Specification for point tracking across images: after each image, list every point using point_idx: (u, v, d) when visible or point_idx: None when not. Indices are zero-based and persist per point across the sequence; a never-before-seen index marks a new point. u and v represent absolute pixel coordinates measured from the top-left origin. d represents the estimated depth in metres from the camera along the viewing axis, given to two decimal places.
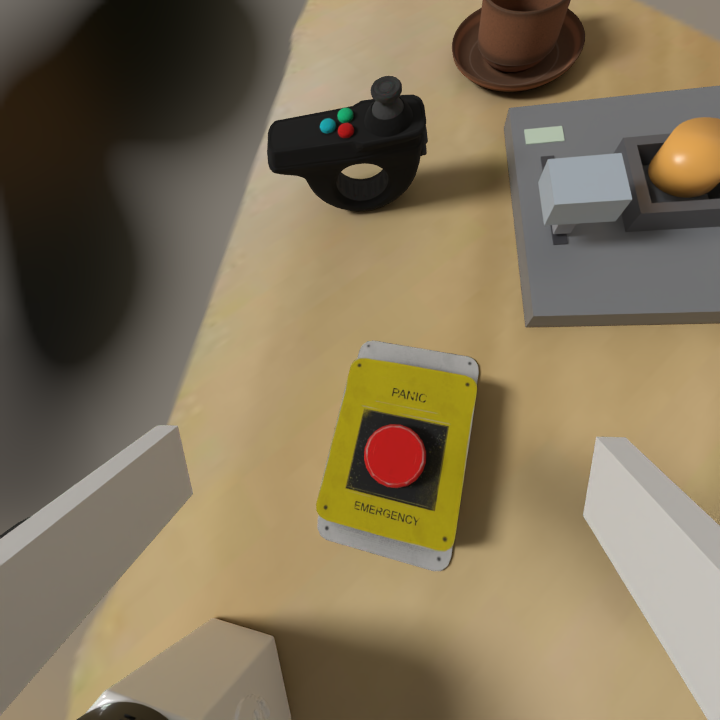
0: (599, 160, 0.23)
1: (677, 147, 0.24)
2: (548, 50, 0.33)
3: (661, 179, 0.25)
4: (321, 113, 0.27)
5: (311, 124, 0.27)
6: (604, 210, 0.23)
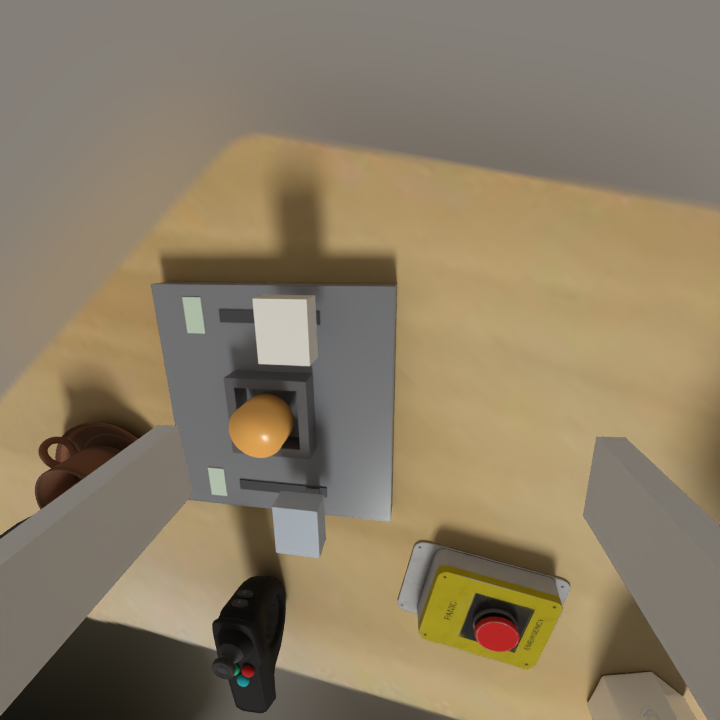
0: (278, 522, 0.29)
1: (260, 453, 0.28)
2: None
3: None
4: (229, 680, 0.35)
5: (240, 687, 0.35)
6: (320, 516, 0.29)
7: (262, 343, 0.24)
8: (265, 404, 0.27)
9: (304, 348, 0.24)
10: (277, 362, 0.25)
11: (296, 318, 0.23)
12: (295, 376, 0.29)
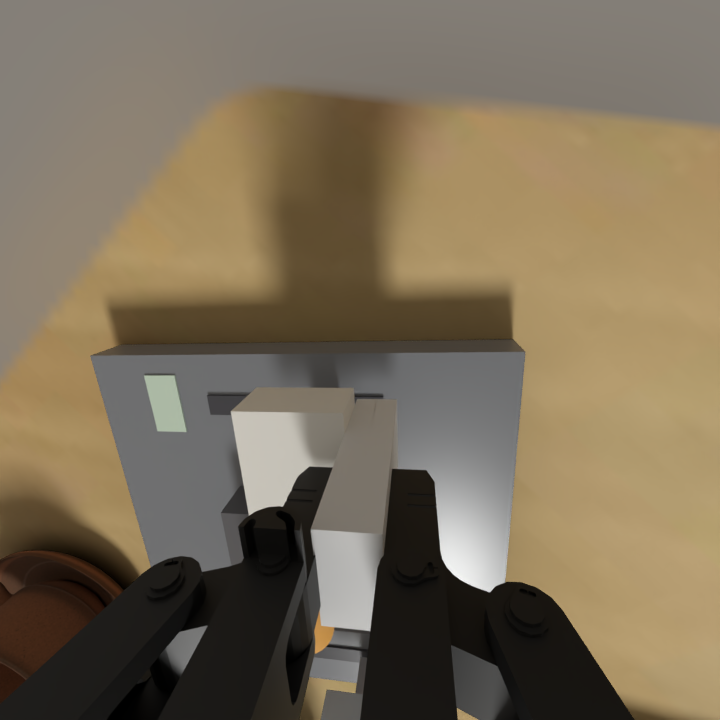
0: None
1: None
2: (77, 607, 0.24)
3: None
4: None
5: None
6: None
7: (256, 491, 0.12)
8: None
9: None
10: None
11: (323, 448, 0.11)
12: None
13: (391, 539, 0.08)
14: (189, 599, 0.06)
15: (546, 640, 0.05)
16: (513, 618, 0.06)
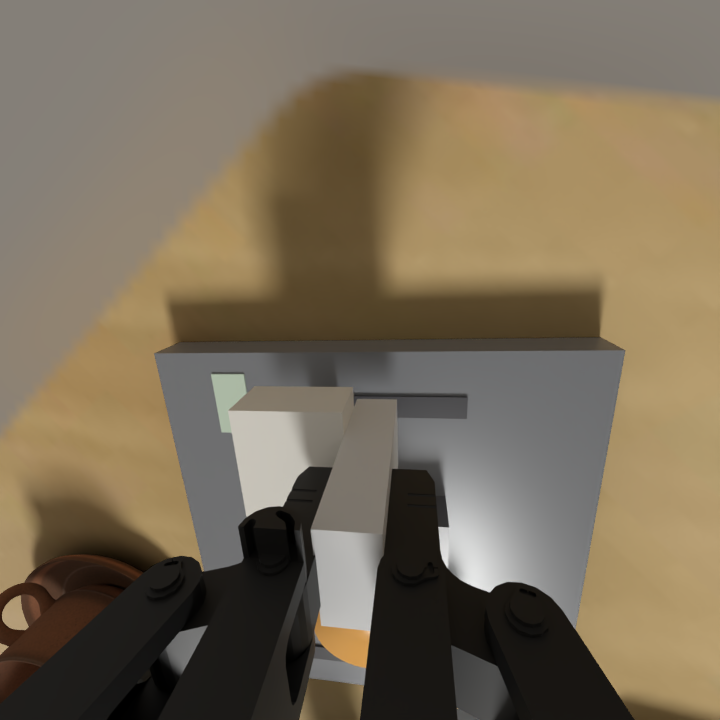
0: None
1: None
2: None
3: None
4: None
5: None
6: None
7: (253, 491, 0.12)
8: None
9: None
10: None
11: (321, 448, 0.11)
12: None
13: (391, 539, 0.08)
14: (189, 599, 0.06)
15: (546, 640, 0.05)
16: (513, 618, 0.06)
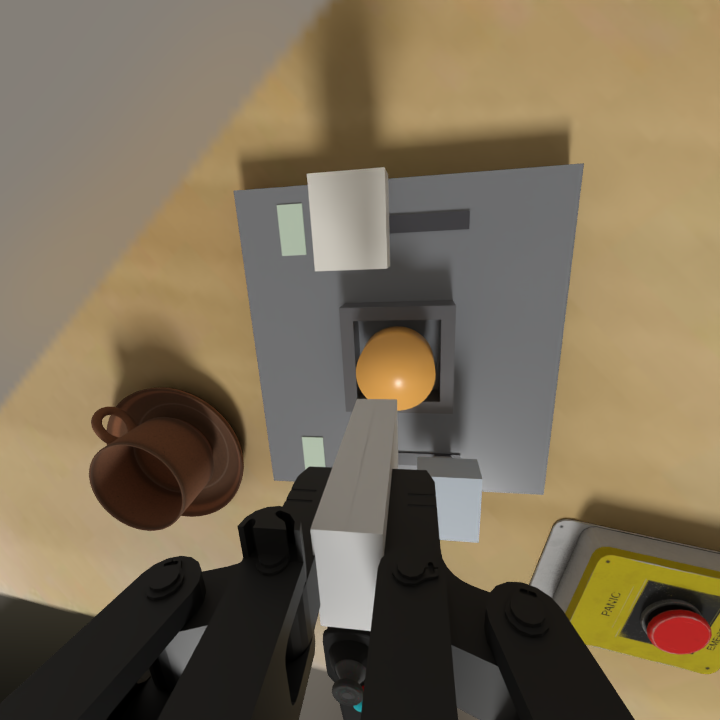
0: None
1: (398, 404, 0.21)
2: (194, 433, 0.29)
3: None
4: (341, 703, 0.27)
5: (354, 711, 0.27)
6: None
7: (320, 240, 0.18)
8: (407, 335, 0.20)
9: (380, 243, 0.17)
10: (341, 267, 0.18)
11: (369, 198, 0.17)
12: (433, 302, 0.22)
13: (391, 539, 0.08)
14: (189, 599, 0.06)
15: (546, 640, 0.05)
16: (513, 618, 0.06)
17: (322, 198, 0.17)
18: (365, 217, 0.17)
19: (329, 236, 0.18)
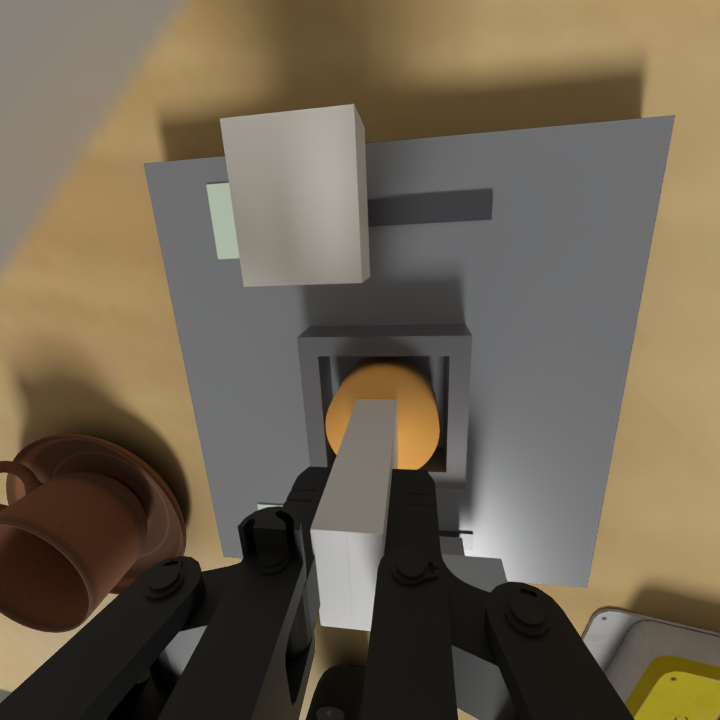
0: None
1: None
2: (116, 495, 0.21)
3: None
4: None
5: None
6: None
7: (250, 235, 0.11)
8: (399, 374, 0.14)
9: (349, 239, 0.10)
10: (286, 279, 0.11)
11: (329, 161, 0.10)
12: (437, 329, 0.15)
13: (391, 539, 0.08)
14: (189, 599, 0.06)
15: (547, 640, 0.05)
16: (514, 618, 0.06)
17: (248, 162, 0.10)
18: (323, 195, 0.10)
19: (264, 228, 0.10)
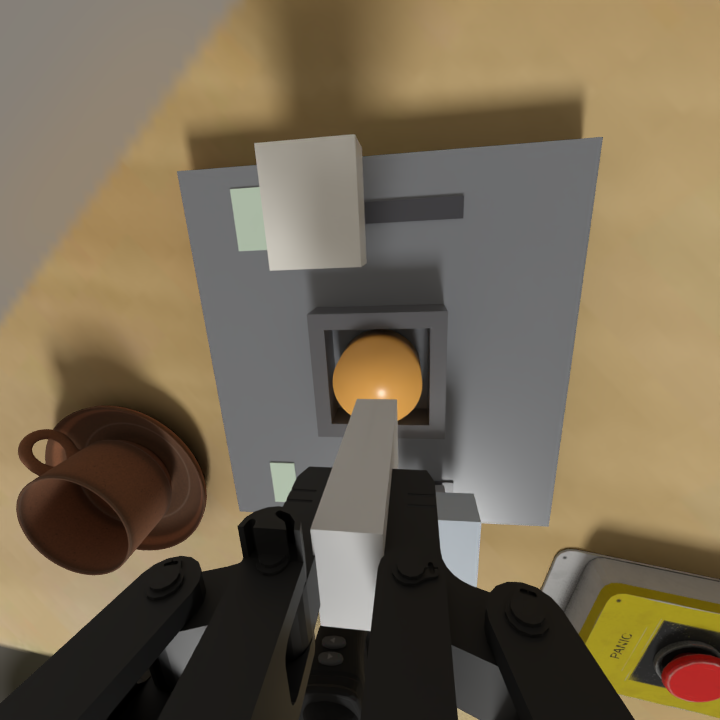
0: None
1: None
2: (146, 458, 0.25)
3: None
4: None
5: None
6: None
7: (275, 230, 0.14)
8: (390, 340, 0.18)
9: (351, 234, 0.14)
10: (303, 265, 0.14)
11: (336, 175, 0.13)
12: (421, 307, 0.18)
13: (391, 539, 0.08)
14: (189, 599, 0.06)
15: (547, 640, 0.05)
16: (514, 618, 0.06)
17: (275, 176, 0.13)
18: (331, 200, 0.13)
19: (286, 225, 0.14)
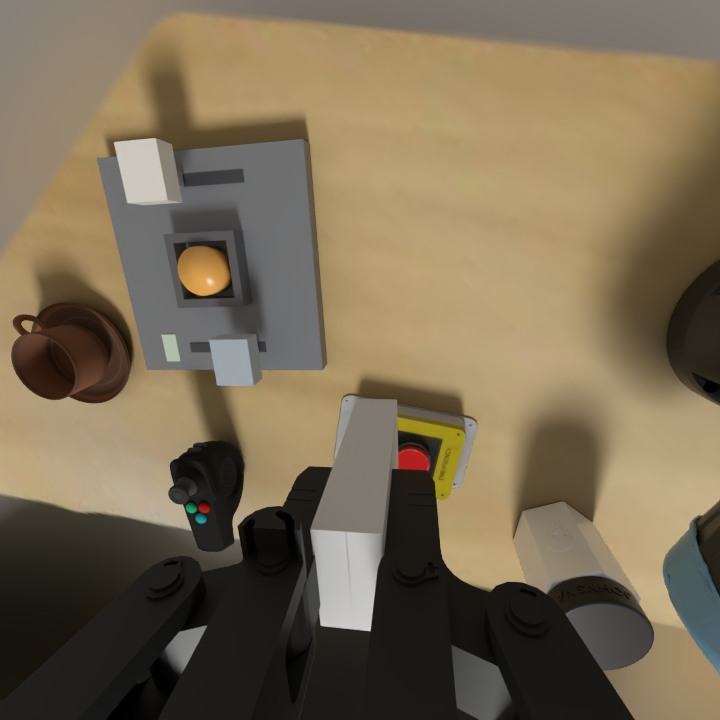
0: (216, 354, 0.33)
1: (205, 291, 0.34)
2: (90, 335, 0.40)
3: (223, 289, 0.36)
4: (189, 520, 0.39)
5: (199, 526, 0.39)
6: (252, 349, 0.33)
7: (127, 183, 0.29)
8: (206, 247, 0.33)
9: (161, 184, 0.29)
10: (142, 199, 0.30)
11: (150, 156, 0.29)
12: None
13: (391, 539, 0.08)
14: (189, 599, 0.06)
15: (547, 640, 0.05)
16: (514, 618, 0.06)
17: (124, 157, 0.29)
18: (150, 168, 0.29)
19: (132, 180, 0.29)
